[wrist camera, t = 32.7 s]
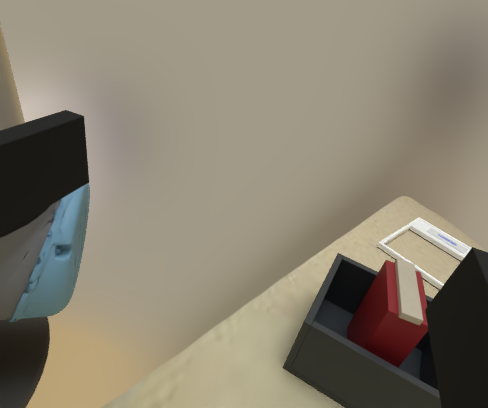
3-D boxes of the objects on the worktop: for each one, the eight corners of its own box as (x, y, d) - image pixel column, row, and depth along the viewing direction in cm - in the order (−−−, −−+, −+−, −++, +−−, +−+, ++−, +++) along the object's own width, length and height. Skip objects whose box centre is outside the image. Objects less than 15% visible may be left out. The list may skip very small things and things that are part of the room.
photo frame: (488, 257, 65) (456, 294, 54) (485, 261, 66) (453, 298, 54) (419, 216, 73) (379, 241, 62) (416, 220, 74) (376, 246, 63)
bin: (282, 367, 39) (304, 321, 34) (318, 295, 50) (338, 252, 45) (417, 453, 34) (465, 413, 29) (425, 353, 45) (460, 311, 40)
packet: (342, 380, 38) (391, 308, 31) (347, 324, 45) (388, 254, 38) (377, 395, 37) (434, 324, 30) (376, 336, 44) (423, 267, 37)
